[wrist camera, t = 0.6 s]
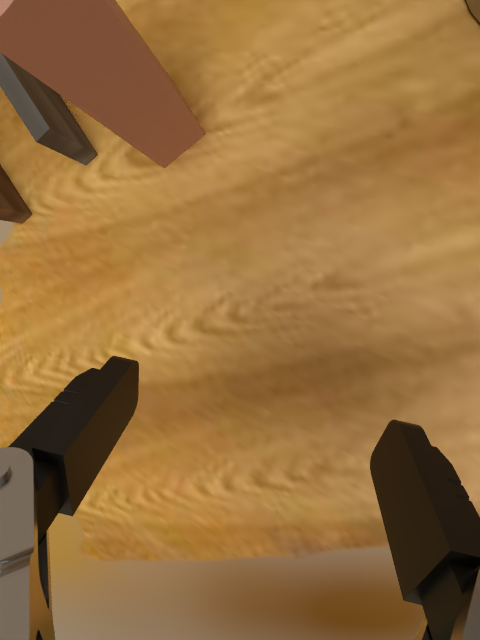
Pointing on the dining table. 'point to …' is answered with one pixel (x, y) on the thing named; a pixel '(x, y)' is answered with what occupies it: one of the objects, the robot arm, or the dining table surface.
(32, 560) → the robot arm
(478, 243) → the dining table surface
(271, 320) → the dining table surface
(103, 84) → the reddish pink rectangular block
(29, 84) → the book slot
